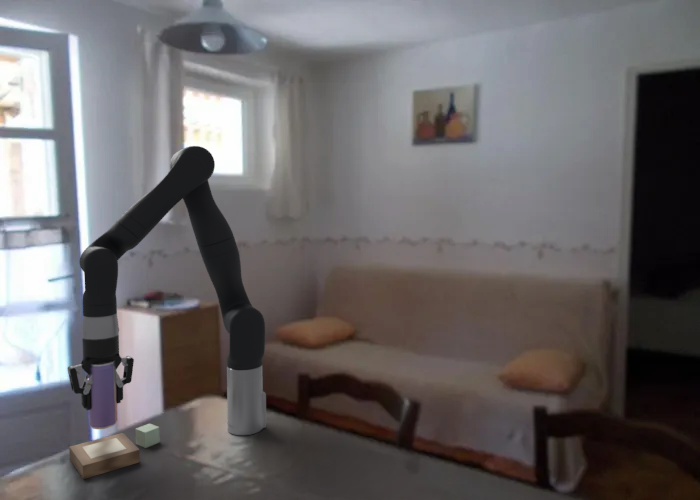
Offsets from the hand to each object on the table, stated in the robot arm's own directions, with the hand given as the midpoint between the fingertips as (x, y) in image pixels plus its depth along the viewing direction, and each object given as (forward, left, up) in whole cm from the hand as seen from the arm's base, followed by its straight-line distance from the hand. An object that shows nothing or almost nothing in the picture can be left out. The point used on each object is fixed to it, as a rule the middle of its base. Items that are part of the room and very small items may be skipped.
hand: (102, 405), depth 122 cm
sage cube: (-11, -3, -13) cm, 17 cm away
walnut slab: (0, 0, -13) cm, 13 cm away
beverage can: (0, 0, -5) cm, 5 cm away
